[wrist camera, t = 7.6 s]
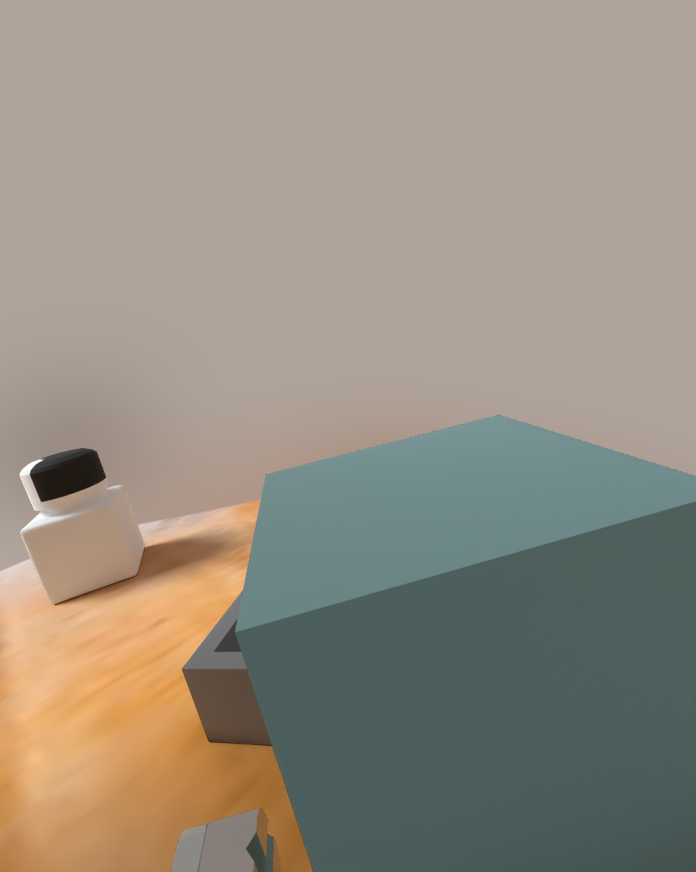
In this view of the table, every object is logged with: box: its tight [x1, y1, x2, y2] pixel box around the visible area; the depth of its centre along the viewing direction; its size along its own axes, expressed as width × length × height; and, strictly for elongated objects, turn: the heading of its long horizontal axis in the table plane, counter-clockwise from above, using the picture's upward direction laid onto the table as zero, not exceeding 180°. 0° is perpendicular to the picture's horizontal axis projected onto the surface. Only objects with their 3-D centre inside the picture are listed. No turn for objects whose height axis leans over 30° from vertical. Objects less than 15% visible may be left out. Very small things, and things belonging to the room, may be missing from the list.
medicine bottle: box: [20, 448, 145, 604], centre depth 40 cm, size 7×7×12 cm
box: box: [182, 591, 272, 745], centre depth 24 cm, size 14×14×4 cm
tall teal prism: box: [235, 415, 696, 872], centre depth 8 cm, size 5×5×14 cm
